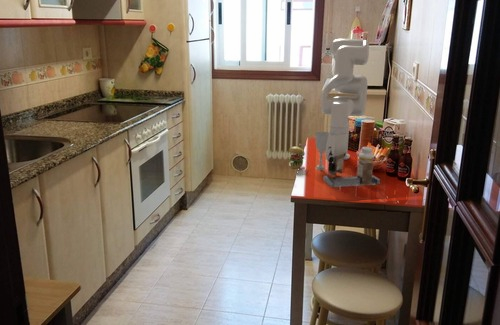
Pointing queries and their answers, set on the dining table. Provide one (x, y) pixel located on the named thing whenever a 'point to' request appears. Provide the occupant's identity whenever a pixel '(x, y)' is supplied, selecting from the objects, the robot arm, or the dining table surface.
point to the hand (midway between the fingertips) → (335, 169)
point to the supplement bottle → (366, 154)
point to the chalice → (321, 146)
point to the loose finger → (337, 165)
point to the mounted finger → (365, 170)
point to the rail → (349, 181)
